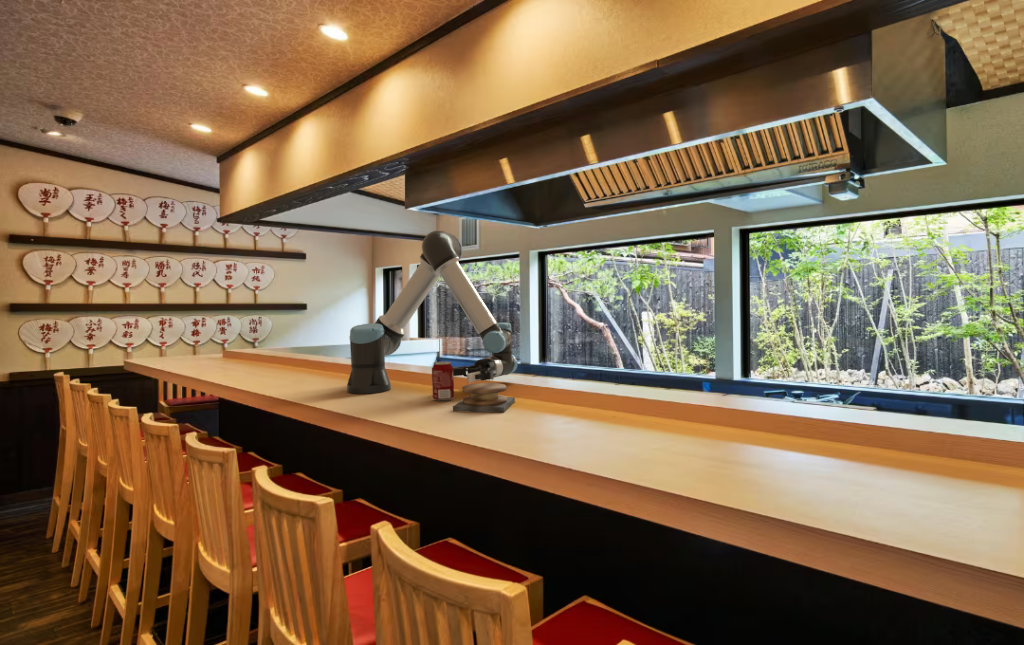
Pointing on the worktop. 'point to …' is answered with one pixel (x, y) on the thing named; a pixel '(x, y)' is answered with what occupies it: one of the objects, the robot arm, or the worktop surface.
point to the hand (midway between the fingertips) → (450, 377)
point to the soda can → (442, 381)
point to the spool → (484, 398)
